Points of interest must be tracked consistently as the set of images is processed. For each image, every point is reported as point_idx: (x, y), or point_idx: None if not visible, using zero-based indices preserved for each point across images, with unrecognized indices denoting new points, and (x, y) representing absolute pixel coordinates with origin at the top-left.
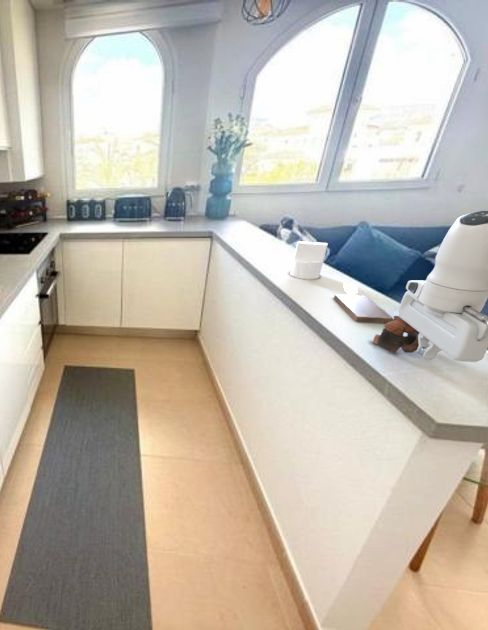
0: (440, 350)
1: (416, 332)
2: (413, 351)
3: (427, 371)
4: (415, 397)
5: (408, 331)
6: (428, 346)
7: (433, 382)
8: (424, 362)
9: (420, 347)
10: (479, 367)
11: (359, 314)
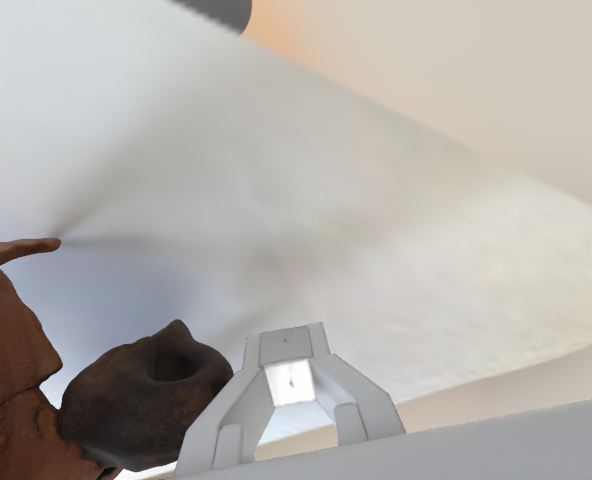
0: (360, 375)
1: (93, 450)
2: (182, 326)
3: (320, 284)
4: (513, 360)
5: (92, 473)
6: (265, 383)
7: (409, 288)
8: (233, 272)
9: (273, 402)
10: (171, 7)
11: None
